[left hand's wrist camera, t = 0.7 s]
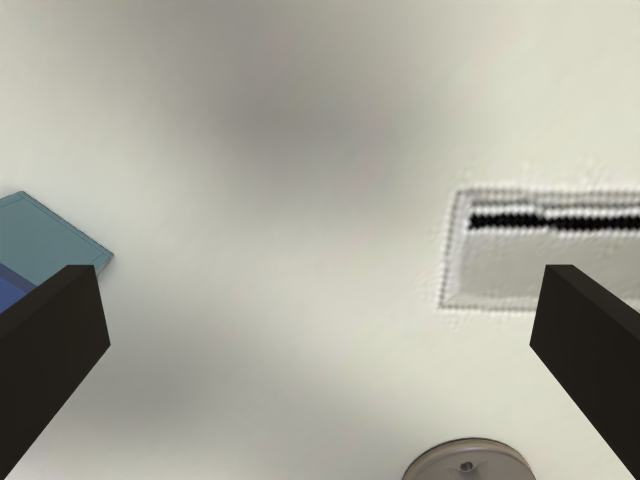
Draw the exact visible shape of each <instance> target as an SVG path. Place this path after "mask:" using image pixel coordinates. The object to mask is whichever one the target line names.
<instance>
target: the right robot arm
mask: <svg viewBox="0 0 640 480" xmlns="http://www.w3.org/2000/svg"><path fill="white" fill-rule="evenodd" d="M403 480H536V479H535V477H534V475H533V473H532V471H531V469H530V468H529V466H528V464H527V462H526V461H525V460H524V458H523V457H522V456H521V455H520V454H519V453H517V452H516V451H515V450H513V449H511V448H510V447H508V446H506V445H503V444H500V443H498V442H494V441H489V440H481V439H468V440H459V441H454V442H450V443H447V444H444V445H441V446H438V447H436V448H434V449H432V450H430V451H429V452H427V453H425V454H424V455H423V456H421V457H420V458H419V459H418V460H416V461H415V462H414V463H413V464H412V466H411V467H410V468H409V470H408V471H407V472H406V474H405V476H404V478H403Z"/></svg>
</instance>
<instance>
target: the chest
mask: <svg viewBox="0 0 640 480" xmlns="http://www.w3.org/2000/svg"><path fill="white" fill-rule="evenodd" d="M112 257H113V254H112V253H110V252H109V251H107V250H106V249H105V248H103V247H102V246H100V245H99V244H97V243H96V242H95V241H93V240H92V239H90V238H89V237H87V236H86V235H84V234H83V233H82V232H80V231H79V230H77V229H76V228H74V227H73V226H72V225H70V224H69V223H67V222H66V221H64V220H63V219H61V218H60V217H59V216H57V215H56V214H54V213H53V212H51V211H50V210H48V209H47V208H46V207H44V206H43V205H41V204H40V203H38V202H37V201H36V200H34V199H33V198H31V197H30V196H28V195H27V194H25V193H24V192H23V191H20V192H18V193H15V194H12V195H9V196H7V197H4V198H1V199H0V264H2V265H3V266H5V267H6V268H8V269H10V270H11V271H13V272H14V273H16V274H17V275H19V276H20V277H22V278H24V279H25V280H27V281H28V282H30V283H31V284H33V285H34V286H36V287H38V286H39V285H40V284H42V283H43V282H44V281H46V280H47V279H49V278H50V277H51V276H53V275H54V274H55V273H57V272H58V271H60V270H61V269H62V268H64V267H65V266H66V265H94V267H95V272H96V277H98V275H99V274H100V273H101V271H102V270H103V269H104V267H105V266H106V265H107V263H108V262H109V261H110V259H111V258H112Z"/></svg>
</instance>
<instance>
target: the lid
mask: <svg viewBox="0 0 640 480" xmlns="http://www.w3.org/2000/svg"><path fill="white" fill-rule="evenodd" d="M35 288H36V286H34V285H33V284H31V283H30V282H28V281H27V280H25V279H24V278H22V277H20V276H19V275H17V274H16V273H14V272H13V271H11V270H10V269H8V268H6V267H5V266H3V265H2V264H0V314H1V313H2V312H3V311H5V310H6V309H7V308H9V307H10V306H11V305H13V304H14V303H16V302H17V301H18V300H20V299H21V298H22V297H24V296H25V295H27V294H28V293H29V292H31V291H32V290H33V289H35Z"/></svg>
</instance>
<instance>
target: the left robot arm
mask: <svg viewBox="0 0 640 480" xmlns="http://www.w3.org/2000/svg"><path fill="white" fill-rule="evenodd" d="M110 345H111V344H110V340H109V335H108V330H107V325H106V320H105V315H104V311H103V306H102V301H101V296H100V291H99V287H98V282H97V277H96V272H95V267H94V265H66V266H65V267H64V268H62V269H61V270H60V271H58V272H57V273H55V274H54V275H53V276H51V277H50V278H49V279H47V280H46V281H44V282H43V283H42V284H40V285H39V286H38V287H36V288H35V289H33V290H32V291H31V292H29V293H28V294H27V295H25V296H24V297H22V298H21V299H20V300H18V301H17V302H16V303H14V304H13V305H11V306H10V307H9V308H7V309H6V310H5V311H3V312H2V313H1V314H0V480H4V479H5V478H6V477H7V475H8V474H9V473H10V472H11V470H12V469H13V468H14V466H15V465H16V464H17V463H18V461H19V460H20V459H21V458H22V456H23V455H24V454H25V453H26V451H27V450H28V449H29V448H30V446H31V445H32V444H33V442H34V441H35V440H36V439H37V437H38V436H39V435H40V434H41V432H42V431H43V430H44V429H45V427H46V426H47V425H48V424H49V422H50V421H51V420H52V419H53V417H54V416H55V415H56V413H57V412H58V411H59V410H60V408H61V407H62V406H63V405H64V403H65V402H66V401H67V400H68V398H69V397H70V396H71V395H72V393H73V392H74V391H75V389H76V388H77V387H78V386H79V384H80V383H81V382H82V381H83V379H84V378H85V377H86V376H87V374H88V373H89V372H90V371H91V369H92V368H93V367H94V365H95V364H96V363H97V362H98V360H99V359H100V358H101V357H102V355H103V354H104V353H105V352H106V350H107V349H108V348H109V347H110ZM529 345H530V347H531V348H532V349H533V350H534V352H535V353H536V354H537V355H538V357H539V358H540V359H541V360H542V362H543V363H544V364H545V365H546V367H547V368H548V369H549V371H550V372H551V373H552V374H553V376H554V377H555V378H556V379H557V381H558V382H559V383H560V384H561V386H562V387H563V388H564V389H565V391H566V392H567V393H568V395H569V396H570V397H571V398H572V400H573V401H574V402H575V403H576V405H577V406H578V407H579V408H580V410H581V411H582V412H583V413H584V415H585V416H586V417H587V419H588V420H589V421H590V422H591V424H592V425H593V426H594V427H595V429H596V430H597V431H598V432H599V434H600V435H601V436H602V437H603V439H604V440H605V441H606V442H607V444H608V445H609V446H610V448H611V449H612V450H613V451H614V453H615V454H616V455H617V456H618V458H619V459H620V460H621V461H622V463H623V464H624V465H625V466H626V468H627V469H628V470H629V472H630V473H631V474H632V475H633V477H634V478H635V479H636V480H640V314H639V313H638V312H637V311H635V310H634V309H633V308H631V307H630V306H629V305H627V304H626V303H624V302H623V301H622V300H620V299H619V298H618V297H616V296H615V295H613V294H612V293H611V292H609V291H608V290H607V289H605V288H604V287H602V286H601V285H600V284H598V283H597V282H596V281H594V280H593V279H591V278H590V277H589V276H587V275H586V274H585V273H583V272H582V271H580V270H579V269H578V268H576V267H575V266H574V265H546V267H545V272H544V277H543V282H542V287H541V291H540V296H539V301H538V306H537V311H536V315H535V320H534V325H533V330H532V335H531V340H530V344H529Z"/></svg>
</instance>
